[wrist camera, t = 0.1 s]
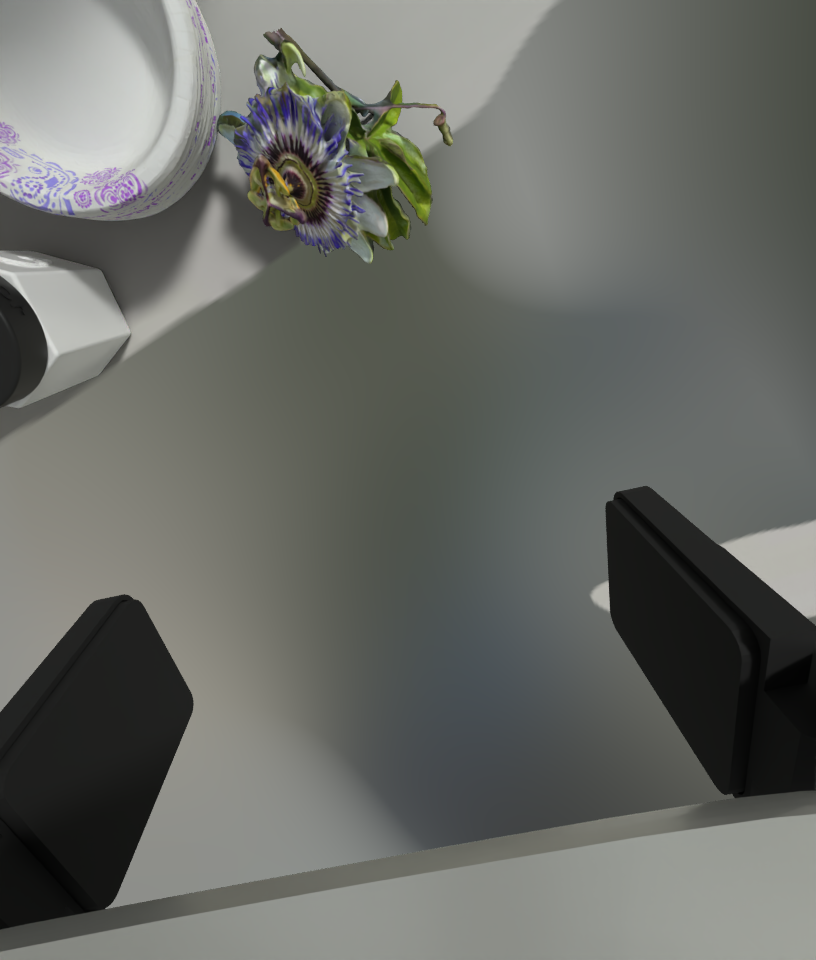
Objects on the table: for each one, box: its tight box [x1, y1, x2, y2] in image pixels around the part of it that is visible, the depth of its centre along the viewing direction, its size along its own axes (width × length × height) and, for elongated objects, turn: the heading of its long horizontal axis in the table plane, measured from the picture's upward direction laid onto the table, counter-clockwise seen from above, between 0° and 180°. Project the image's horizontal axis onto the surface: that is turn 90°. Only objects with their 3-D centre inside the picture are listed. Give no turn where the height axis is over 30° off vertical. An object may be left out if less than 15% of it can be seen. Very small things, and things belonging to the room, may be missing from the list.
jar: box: [0, 250, 131, 408], centre depth 31 cm, size 9×8×12 cm
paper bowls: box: [0, 0, 221, 221], centre depth 27 cm, size 15×15×8 cm
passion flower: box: [216, 28, 453, 264], centre depth 30 cm, size 11×11×12 cm
